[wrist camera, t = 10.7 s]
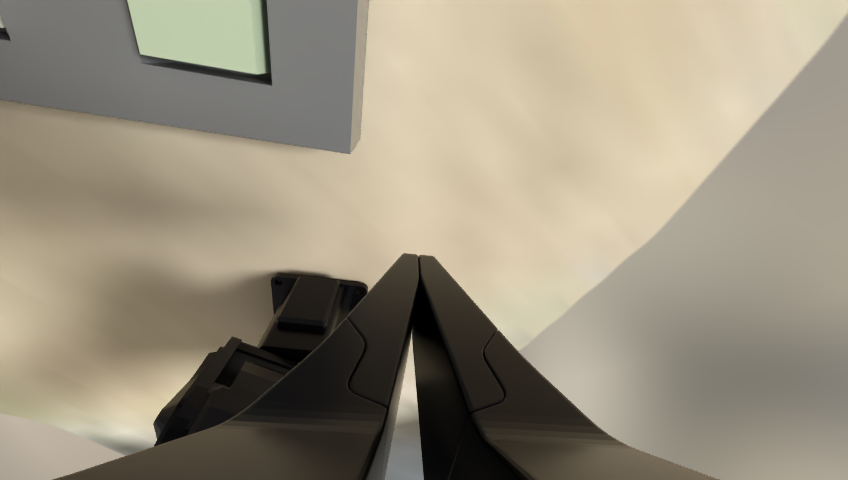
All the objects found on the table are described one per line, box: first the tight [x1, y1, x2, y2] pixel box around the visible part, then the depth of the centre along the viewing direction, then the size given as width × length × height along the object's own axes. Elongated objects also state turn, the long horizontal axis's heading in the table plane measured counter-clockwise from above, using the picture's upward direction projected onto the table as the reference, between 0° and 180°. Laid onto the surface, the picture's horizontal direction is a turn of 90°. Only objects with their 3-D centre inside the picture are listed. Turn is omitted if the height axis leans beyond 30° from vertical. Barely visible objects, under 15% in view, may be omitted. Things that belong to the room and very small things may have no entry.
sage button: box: [127, 0, 271, 74], centre depth 13 cm, size 4×4×2 cm
